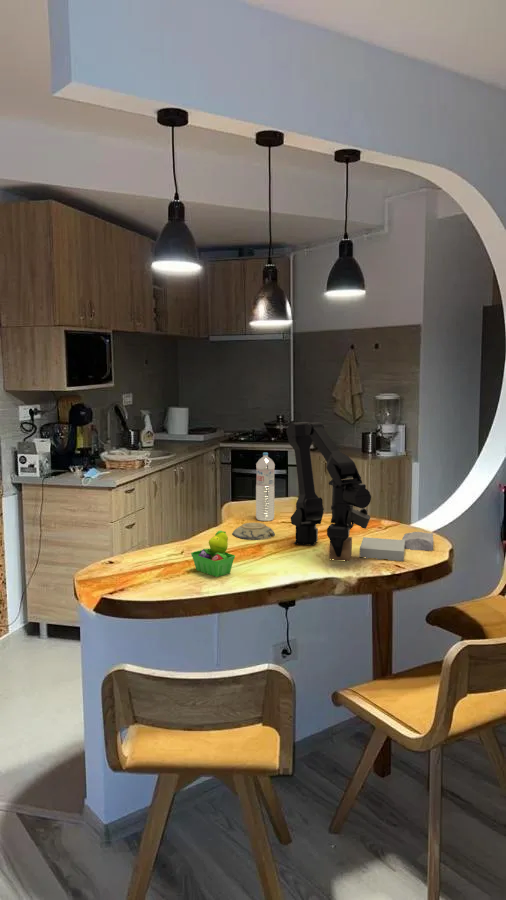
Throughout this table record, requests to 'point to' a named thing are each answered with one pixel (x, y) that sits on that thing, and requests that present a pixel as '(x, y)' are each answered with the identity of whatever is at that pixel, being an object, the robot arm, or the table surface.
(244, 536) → the decorative bowl
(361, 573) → the table surface
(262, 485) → the water bottle
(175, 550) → the table surface
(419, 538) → the stone block
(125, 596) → the table surface
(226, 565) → the fruit basket
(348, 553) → the cube
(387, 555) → the tile
